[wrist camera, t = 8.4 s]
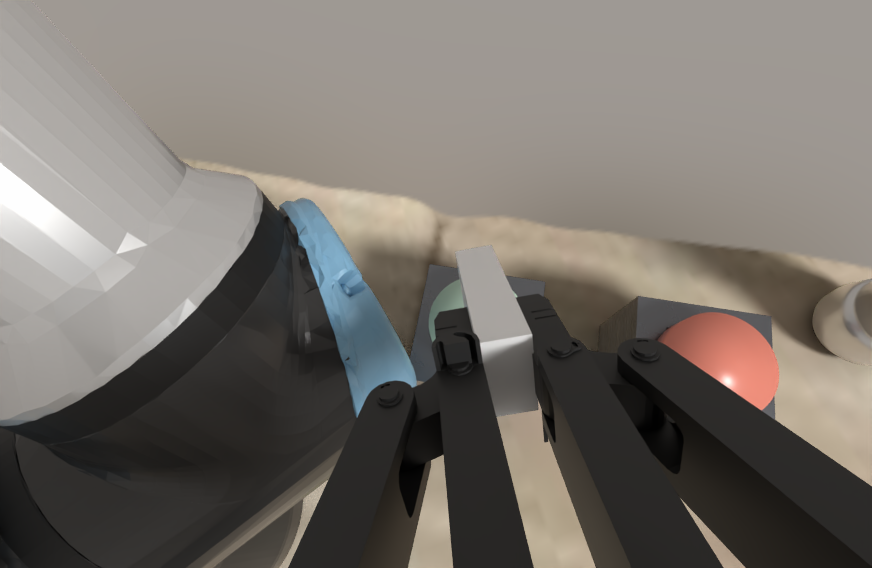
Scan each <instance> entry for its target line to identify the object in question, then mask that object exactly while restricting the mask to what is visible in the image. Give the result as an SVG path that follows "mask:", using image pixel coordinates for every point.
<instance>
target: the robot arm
mask: <svg viewBox="0 0 872 568" xmlns="http://www.w3.org/2000/svg"><path fill="white" fill-rule="evenodd" d="M279 207H280V209H279V211H278V210H277V209H276V208H275V207H274V205H273V204H272V203H271V202H270V201H269V199H268V198H267V197H266V196H265V195H264V193H263V192H262V191H261V190H260V189H259V187H258V186H257V185H256V184H255V183H254V182H253V181H252V180H251V179H249V178H247V177H246V176H242V175H237V174H230V173H224V172H217V171H210V170H203V169H197V168H192V167H191V166H189V165H188V164H186V163H184V162H183V161H181V160H180V159H179V158H178V157H177V156H176V155H175V154H174V153H173V152H172V151H171V150H170V149H169V148H168V146H167V145H166V144H165V143H164V142H163V141H162V140H161V139H160V138H159V137H158V136H157V134H156V133H155V132H154V131H153V130H152V129H151V128H150V127H149V126H148V125H147V124H146V123H145V122H144V121H143V120H142V118H141V117H140V116H139V115H138V114H137V113H136V112H135V111H134V110H133V109H132V108H131V107H130V106H129V104H127V102H126V101H125V100H124V99H123V98H122V97H121V96H120V95H119V94H118V93H117V92H116V91H115V89H114V88H113V87H112V86H111V85H110V84H109V83H108V82H107V81H106V80H105V79H104V78H103V77H102V75H100V73H99V72H98V71H97V70H96V69H95V68H94V67H93V66H92V65H91V64H90V63H89V62H88V60H87V59H86V58H85V57H84V56H83V55H82V54H81V53H80V52H79V51H78V50H77V49H76V48H75V47H74V46H73V44H72V43H71V42H70V41H69V40H68V39H67V38H66V37H65V36H64V35H63V34H62V33H61V32H60V30H58V28H57V27H56V26H55V25H54V24H53V23H52V22H51V21H50V20H49V19H48V18H47V16H46V15H45V14H44V13H43V12H42V11H41V10H40V9H39V8H38V7H37V6H36V5H35V4H34V3H33V1H31V0H0V568H279V567H280V566H281V564H282V563H283V561H284V559H285V558H286V556H287V554H288V552H289V550H290V548H291V546H292V544H293V541H294V539H295V536H296V533H297V530H298V527H299V523H300V519H301V513H302V506H303V498H304V497H306V496H307V495H308V494H310V493H311V492H312V491H314V490H315V489H316V488H317V487H319V486H320V485H321V484H323V483H324V482H325V481H327V480H328V479H329V480H328V482H327V485H326V487H325V489H324V491H323V493H322V495H321V498H320V500H319V502H318V504H317V506H316V508H315V511H314V513H313V515H312V517H311V519H310V522H309V524H308V526H307V528H306V530H305V532H304V535H303V537H302V539H301V541H300V543H299V546H298V548H297V550H296V552H295V554H294V556H293V559H292V561H291V563H290V565H289V567H288V568H408V564H409V560H410V555H411V551H412V547H413V542H414V538H415V533H416V529H417V525H418V520H419V516H420V512H421V507H422V503H423V498H424V494H425V490H426V485H427V481H428V477H429V472H430V468H431V460H433V459H435V458H437V457H439V456H441V455H443V454H444V464H445V476H446V487H447V499H448V511H449V522H450V534H451V546H452V557H453V568H534V567H533V563H532V559H531V555H530V551H529V547H528V543H527V539H526V535H525V531H524V527H523V523H522V519H521V515H520V511H519V507H518V502H517V498H516V494H515V490H514V486H513V482H512V478H511V474H510V470H509V466H508V462H507V458H506V454H505V450H504V446H503V442H502V438H501V434H500V430H499V426H498V422H497V418H496V417H498V416H504V415H510V414H516V413H522V412H528V411H535V410H538V401H539V403H540V406H541V408H542V419H543V432H544V442H548V438H549V441H550V444H551V446H552V449H553V452H554V455H555V457H556V460H557V463H558V465H559V468H560V471H561V474H562V476H563V479H564V482H565V484H566V487H567V490H568V493H569V495H570V498H571V501H572V503H573V506H574V509H575V512H576V514H577V517H578V520H579V522H580V525H581V528H582V531H583V533H584V536H585V539H586V542H587V544H588V547H589V550H590V552H591V555H592V558H593V561H594V563H595V566H596V568H723V566H722V565H721V563H720V561H719V560H718V558H717V557H716V555H715V553H714V552H713V550H712V549H711V547H710V545H709V544H708V542H707V541H706V539H705V537H704V536H703V534H702V533H701V531H700V529H699V528H698V526H697V525H696V523H695V521H694V520H693V518H692V517H691V515H690V513H689V512H688V510H687V509H686V507H685V505H684V504H683V502H682V501H681V499H682V500H683V501H684V502H685V503H686V504H687V506H688V507H689V508H690V509H691V510H692V511H693V512H694V513H695V514H696V515H697V516H698V517H699V518H700V519H701V520H702V521H703V523H704V524H705V525H706V526H707V527H708V528H709V529H710V530H711V531H712V532H713V533H714V534H715V535H716V536H717V537H718V539H719V540H720V541H721V542H722V543H723V544H724V545H725V546H726V547H727V548H728V549H729V550H730V551H731V552H732V553H733V554H734V556H735V557H736V558H737V559H738V560H739V561H740V562H741V563H742V564H743V565H744V566H745V567H746V568H872V486H870V485H869V484H867V483H866V482H865V481H863V480H862V479H860V478H859V477H857V476H856V475H854V474H853V473H852V472H850V471H849V470H847V469H846V468H844V467H843V466H841V465H840V464H838V463H837V462H836V461H834V460H833V459H831V458H830V457H828V456H827V455H825V454H824V453H822V452H821V451H820V450H818V449H817V448H815V447H814V446H812V445H811V444H809V443H808V442H806V441H805V440H804V439H802V438H801V437H799V436H798V435H796V434H795V433H793V432H792V431H790V430H789V429H788V428H786V427H785V426H783V425H782V424H780V423H779V422H777V421H776V420H774V419H773V418H772V417H770V416H769V415H767V414H766V413H764V412H763V411H761V410H760V409H758V408H757V407H756V406H754V405H753V404H751V403H750V402H748V401H747V400H745V399H744V398H742V397H741V396H740V395H738V394H737V393H735V392H734V391H732V390H731V389H729V388H728V387H726V386H725V385H724V384H722V383H721V382H719V381H718V380H716V379H715V378H713V377H712V376H710V375H709V374H708V373H706V372H705V371H703V370H702V369H700V368H699V367H697V366H696V365H694V364H693V363H692V362H690V361H689V360H687V359H686V358H684V357H683V356H681V355H680V354H678V353H677V352H676V351H674V350H673V349H671V348H670V347H668V346H667V345H665V344H663V343H661V342H659V341H657V340H652V339H648V338H634V339H629V340H626V341H624V342H623V343H621V344H620V346H619V347H618V349H617V353H604V352H594V351H590V350H587V348H586V347H585V346H584V345H583V344H582V343H581V342H580V341H579V340H577V339H574V338H572V337H570V335H569V333H568V332H567V330H566V328H565V327H564V325H563V323H562V322H561V320H560V318H559V317H558V316H557V313H556V312H555V310H554V309H553V307H552V305H551V303H550V302H549V300H548V299H546V298H545V297H543V296H541V295H540V294H533V295H527V296H521V297H515V295H514V293H513V291H512V289H511V287H510V285H509V282H508V280H507V278H506V276H505V274H504V271H503V269H502V267H501V265H500V263H499V260H498V258H497V256H496V254H495V252H494V250H493V247H492V245H488V246H483V247H477V248H471V249H466V250H460V251H455V254H456V260H457V266H458V272H459V279H460V285H461V291H462V297H463V303H464V308H458V309H453V310H447V311H441V312H439V313H438V315H437V316H436V318H435V320H434V325H435V336H436V339H435V340H434V341H433V343H432V347H431V348H432V352H433V357H434V362H435V366H436V372H435V374H434V375H433V376H432V377H431V378H430V379H428V380H427V381H426V382H424V383H422V384H420V385H417V381H416V375H415V371H414V368H413V366H412V363H411V361H410V359H409V357H408V355H407V353H406V351H405V349H404V347H403V345H402V343H401V341H400V339H399V337H398V335H397V333H396V331H395V330H394V328H393V326H392V324H391V322H390V321H389V319H388V317H387V315H386V314H385V312H384V310H383V308H382V307H381V305H380V303H379V302H378V300H377V298H376V297H375V295H374V293H373V292H372V290H371V289H370V287H369V286H368V285H367V283H365V282H364V281H363V279H362V274H361V273H360V271H359V270H358V268H357V266H356V265H355V263H354V262H353V260H352V258H351V255H350V253H349V252H348V250H347V249H346V247H345V245H344V244H343V242H342V241H341V239H340V238H339V236H338V235H337V233H336V232H335V230H334V228H333V227H332V225H331V224H330V223H329V221H328V220H327V218H326V217H325V216H324V214H323V213H322V212H321V210H320V209H319V208H318V207H317V206H316V205H315V203H314V202H312V201H311V200H308V199H305V198H301V199H297V200H296V201H294V202H292V201H286V202H285V203H283V204H281V205H280V206H279ZM537 398H538V399H537ZM680 498H681V499H680Z"/></svg>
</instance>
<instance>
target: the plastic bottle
mask: <svg viewBox="0 0 872 568" xmlns="http://www.w3.org/2000/svg"><path fill="white" fill-rule="evenodd" d="M812 321H813V329H814V332H815V334H816V336H817V338H818V339H819V341H820V342H821V344H822V345H823V346H824V347H826V348H827V349H828V350H829V351H831V352H832V353H833V354H835V355H837V356H838V357H840V358H842V359H844V360H846V361H849V362H852V363H855V364H861V365H872V279H867V280H862V281H858V282H853V283H849V284H845V285H843V286H840V287H838V288H837V289H835V290H833V291H832V292H830V293H829V294H827V295H826V296H824V297H823V298H822V299H821V300H820V301H819V302H818V303H817V305H816V307H815V309H814V314H813V319H812Z"/></svg>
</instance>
